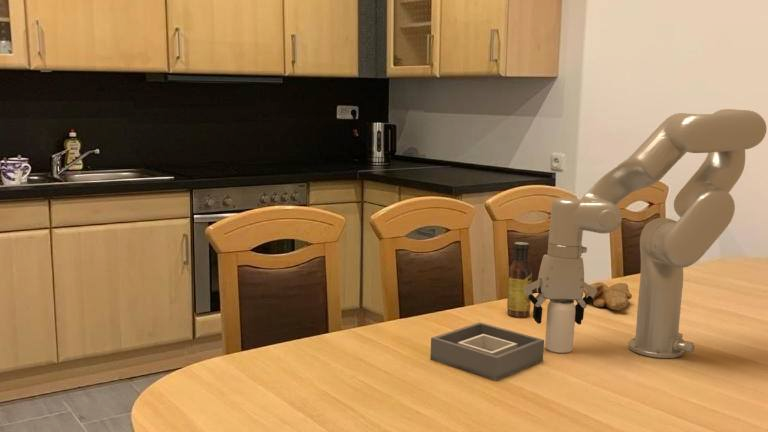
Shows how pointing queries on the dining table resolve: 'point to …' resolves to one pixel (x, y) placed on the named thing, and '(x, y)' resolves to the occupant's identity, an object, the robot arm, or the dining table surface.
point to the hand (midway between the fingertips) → (557, 322)
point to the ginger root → (611, 295)
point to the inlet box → (487, 350)
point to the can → (560, 326)
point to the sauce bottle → (519, 282)
